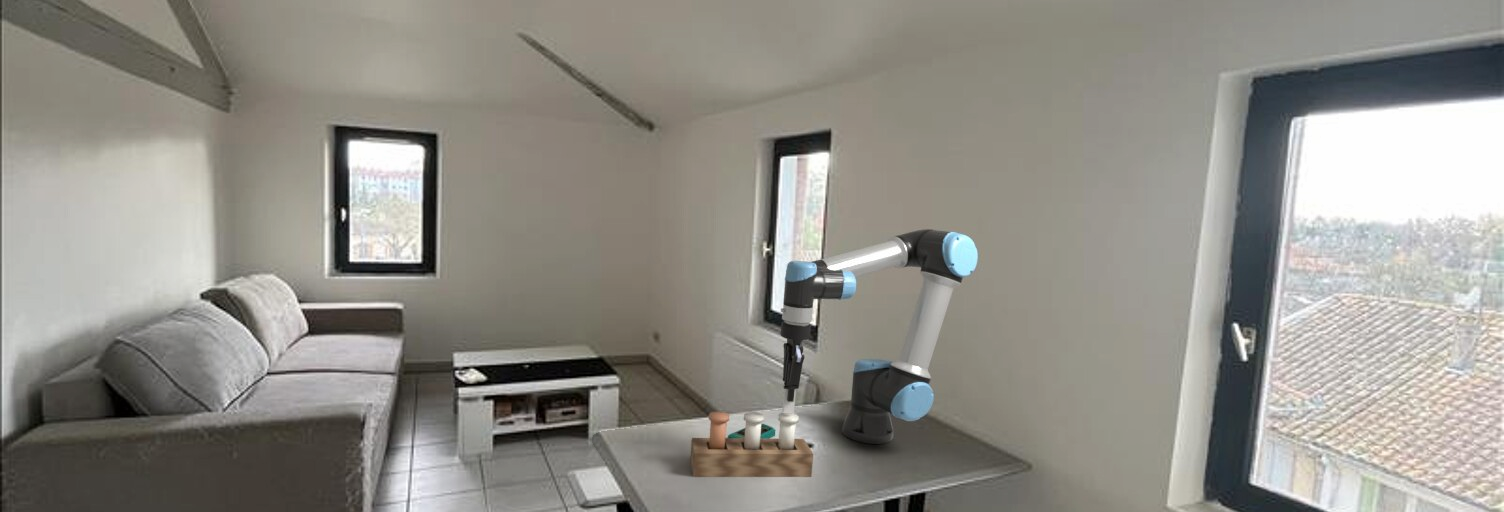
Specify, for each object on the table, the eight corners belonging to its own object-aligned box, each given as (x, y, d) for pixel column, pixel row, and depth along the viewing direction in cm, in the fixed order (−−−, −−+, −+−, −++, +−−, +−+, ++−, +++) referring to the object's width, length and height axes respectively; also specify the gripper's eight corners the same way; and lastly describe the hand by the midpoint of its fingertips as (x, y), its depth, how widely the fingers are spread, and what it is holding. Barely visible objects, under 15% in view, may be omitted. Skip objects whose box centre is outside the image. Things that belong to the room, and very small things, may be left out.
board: (801, 460, 182) (803, 438, 181) (811, 476, 172) (813, 454, 171) (690, 459, 176) (691, 437, 176) (693, 476, 167) (694, 453, 166)
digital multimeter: (776, 436, 199) (777, 427, 198) (747, 451, 186) (748, 440, 186) (755, 430, 203) (756, 420, 202) (726, 443, 191) (727, 433, 190)
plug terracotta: (725, 445, 175) (727, 411, 174) (728, 453, 170) (730, 418, 169) (705, 445, 174) (707, 411, 173) (707, 453, 169) (709, 418, 168)
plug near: (793, 445, 178) (796, 412, 177) (797, 453, 173) (800, 419, 172) (773, 445, 177) (776, 412, 176) (777, 453, 172) (780, 419, 171)
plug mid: (759, 445, 177) (762, 412, 176) (763, 453, 172) (766, 419, 171) (739, 445, 176) (742, 411, 175) (743, 453, 171) (745, 419, 170)
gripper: (776, 316, 177) (768, 403, 180) (787, 327, 165) (778, 420, 167) (804, 317, 179) (796, 404, 181) (817, 328, 166) (808, 421, 168)
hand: (787, 412), depth 174 cm, fingers closed
